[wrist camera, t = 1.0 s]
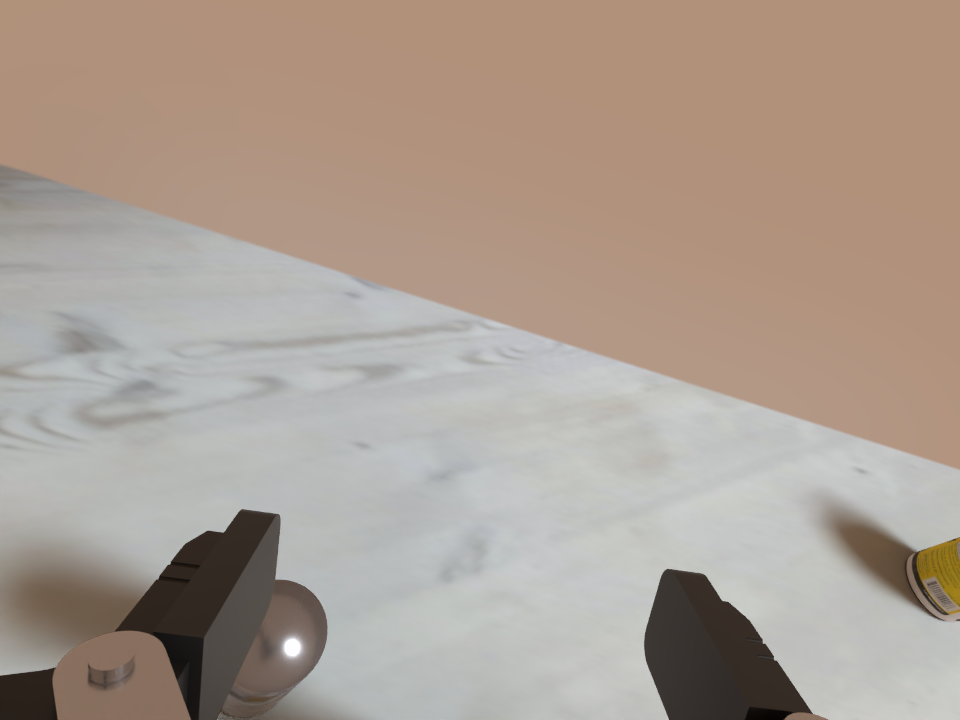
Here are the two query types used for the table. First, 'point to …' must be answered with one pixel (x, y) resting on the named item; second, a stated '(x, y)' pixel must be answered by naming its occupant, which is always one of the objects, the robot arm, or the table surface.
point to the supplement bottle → (937, 579)
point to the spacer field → (279, 651)
